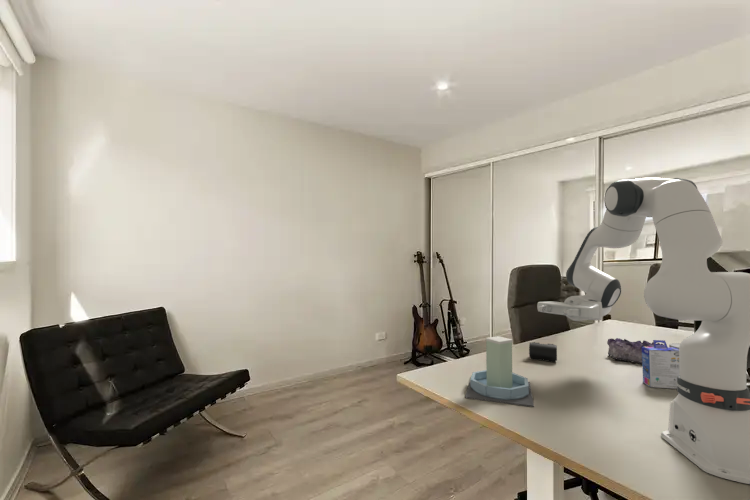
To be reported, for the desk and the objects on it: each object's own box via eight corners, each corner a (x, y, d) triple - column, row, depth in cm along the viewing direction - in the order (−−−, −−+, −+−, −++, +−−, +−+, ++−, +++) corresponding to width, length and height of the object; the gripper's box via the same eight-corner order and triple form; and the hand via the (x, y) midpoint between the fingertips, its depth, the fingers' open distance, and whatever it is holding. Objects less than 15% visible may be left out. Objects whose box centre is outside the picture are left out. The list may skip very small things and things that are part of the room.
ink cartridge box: (674, 383, 118) (674, 340, 118) (685, 390, 113) (684, 344, 113) (641, 381, 120) (640, 338, 120) (650, 387, 115) (649, 342, 115)
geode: (667, 361, 143) (668, 337, 142) (671, 373, 133) (672, 347, 132) (607, 352, 154) (607, 329, 153) (606, 362, 145) (607, 338, 144)
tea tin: (512, 387, 112) (512, 339, 113) (500, 391, 110) (499, 341, 110) (498, 382, 117) (498, 336, 118) (486, 385, 115) (485, 338, 115)
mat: (533, 407, 101) (533, 405, 101) (465, 397, 108) (465, 396, 108) (529, 383, 120) (529, 381, 120) (471, 376, 126) (471, 375, 126)
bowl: (530, 403, 102) (529, 392, 103) (468, 395, 109) (468, 384, 109) (527, 382, 119) (527, 373, 119) (473, 376, 125) (473, 367, 125)
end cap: (529, 360, 145) (529, 344, 145) (530, 356, 151) (530, 340, 151) (556, 364, 140) (556, 347, 140) (557, 359, 146) (556, 343, 146)
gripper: (550, 296, 137) (526, 298, 131) (606, 302, 119) (582, 304, 113) (551, 313, 137) (527, 316, 130) (607, 320, 119) (582, 324, 113)
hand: (552, 310), depth 121 cm, fingers open, 8 cm apart
